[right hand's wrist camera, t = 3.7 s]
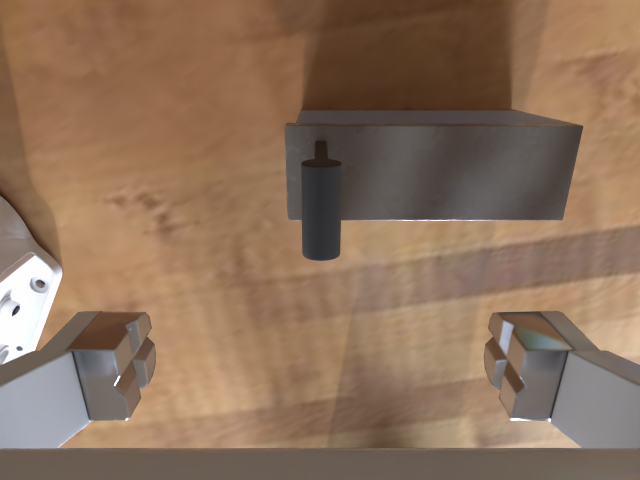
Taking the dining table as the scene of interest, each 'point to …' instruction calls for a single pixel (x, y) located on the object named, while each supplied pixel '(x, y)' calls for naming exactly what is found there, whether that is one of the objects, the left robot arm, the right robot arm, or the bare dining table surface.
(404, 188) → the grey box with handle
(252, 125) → the dining table surface
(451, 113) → the chest
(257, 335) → the dining table surface
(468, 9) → the dining table surface
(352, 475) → the right robot arm
